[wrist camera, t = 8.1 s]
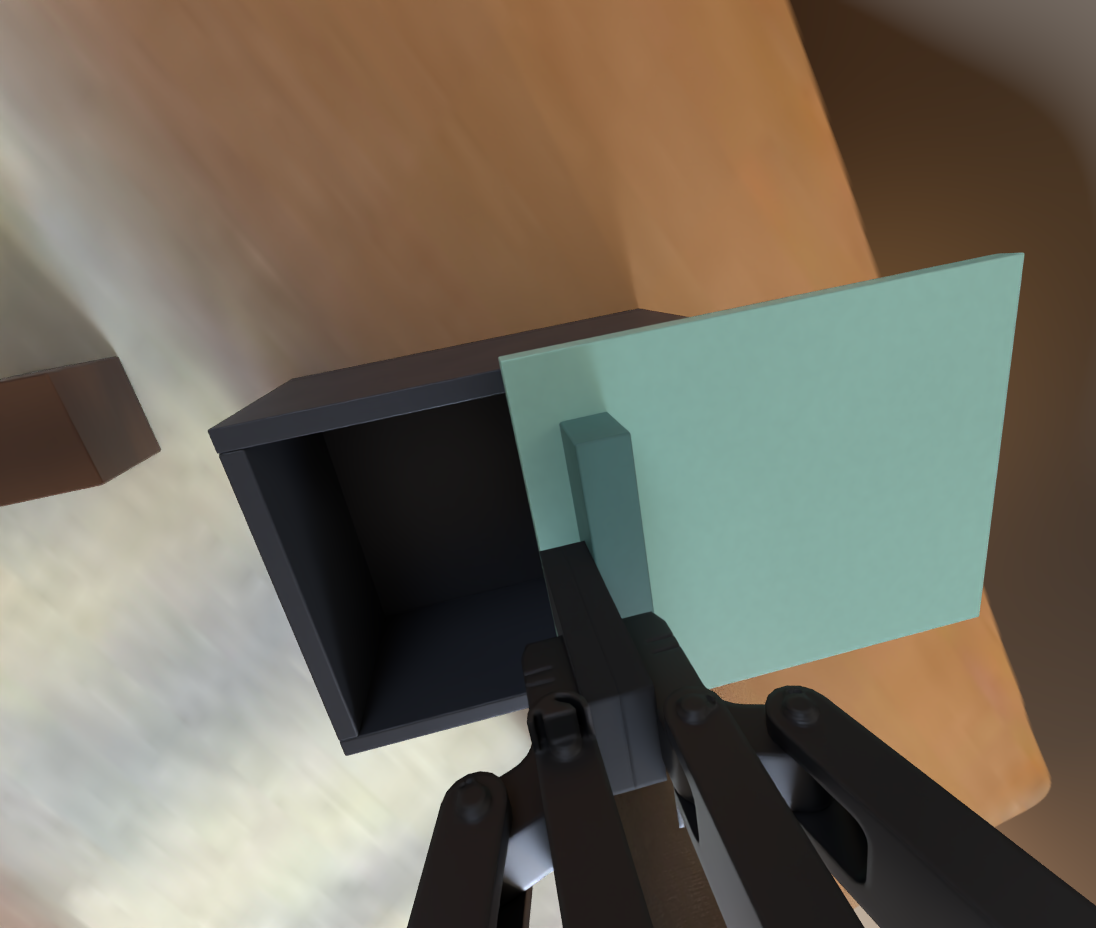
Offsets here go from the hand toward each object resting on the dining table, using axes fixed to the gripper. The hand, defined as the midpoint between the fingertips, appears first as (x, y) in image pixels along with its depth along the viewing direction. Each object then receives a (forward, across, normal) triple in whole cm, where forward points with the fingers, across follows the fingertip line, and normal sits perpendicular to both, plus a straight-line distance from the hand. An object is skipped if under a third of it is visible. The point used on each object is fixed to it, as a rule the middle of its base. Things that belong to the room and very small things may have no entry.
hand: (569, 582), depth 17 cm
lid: (+2, +8, 0) cm, 8 cm away
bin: (+11, -2, 0) cm, 11 cm away
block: (+11, -18, +7) cm, 23 cm away
